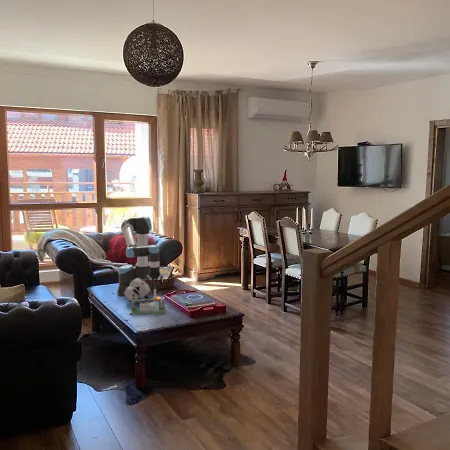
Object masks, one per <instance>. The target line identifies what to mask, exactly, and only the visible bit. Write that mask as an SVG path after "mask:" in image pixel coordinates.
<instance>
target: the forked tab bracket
mask: <svg viewBox="0 0 450 450" xmlns="http://www.w3.org/2000/svg"><path fill="white" fill-rule="evenodd" d="M133 299H135V298H132V300H131V303H130V307H131V308H130V309H131V311H134V310H135V306H136V304H135V303H134V300H133Z"/></svg>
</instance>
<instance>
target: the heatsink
mask: <svg viewBox="0 0 450 450" xmlns="http://www.w3.org/2000/svg"><path fill="white" fill-rule="evenodd" d="M139 303H140V304H139V306H140V312H148V311H154V305H155V301H154V302H146V303H145V302H143V303H142V302H139Z"/></svg>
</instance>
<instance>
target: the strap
mask: <svg viewBox="0 0 450 450" xmlns="http://www.w3.org/2000/svg"><path fill="white" fill-rule="evenodd" d="M133 300H134V303H136V304H137V303H141V302H154V303H155V302H159V301H160V300H162V297H161V296H156V298H154V297H152V298H150V299H145V298H141V299H133Z"/></svg>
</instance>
